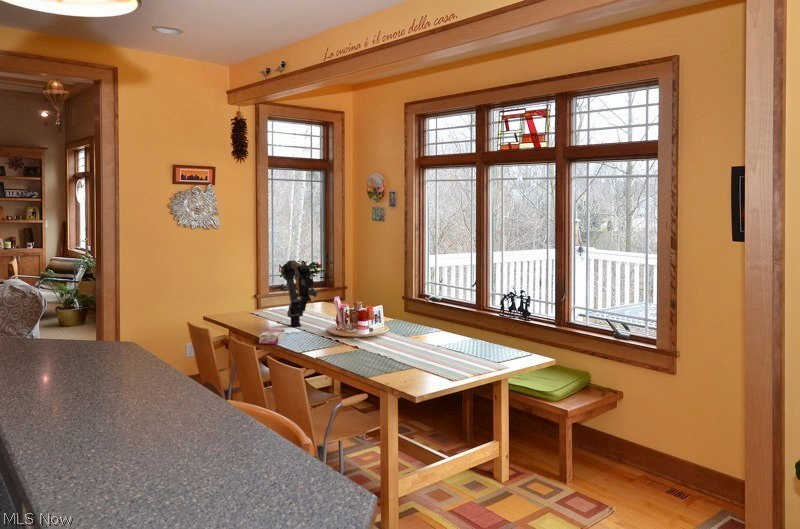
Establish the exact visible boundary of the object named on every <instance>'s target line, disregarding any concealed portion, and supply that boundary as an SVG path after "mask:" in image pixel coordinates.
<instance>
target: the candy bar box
mask: <svg viewBox="0 0 800 529" xmlns="http://www.w3.org/2000/svg"><path fill="white" fill-rule="evenodd" d="M285 338H286V329H273V328H272V329H269V328H266V329H265V330H264V331H263V332H261V333H260V334H259V335H258V344H259V345H261V344H264V345H265V344H266V345H269V344H275V345H277V344H280V343H281V341H283V340H284V339H285Z"/></svg>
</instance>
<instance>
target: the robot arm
mask: <svg viewBox="0 0 800 529" xmlns="http://www.w3.org/2000/svg"><path fill="white" fill-rule="evenodd" d="M280 274H281V276H282V278H283V279H284V280H285V281H286V282H285V283H286V287H287V291H288V296H289V301H290V302H289V304H288V305H289V306H288V311H287V313H286V314H287V318H288V317H289V318H290V324H289V327H291V328H294V327H295V328H296V327H302V324H301V318H300V317H303V316H304V312H305V311H306V307H307V304H308V302H311V301H312V297H313V298H317V295H318V291H316V290H315V289H314V288H312V287H313V286H314V284H315V283H314V282H315V281H314V279H313V278H311V277H312V271H311V269H310V267H309V265H307V264H301V263H298V262H297V261H296V260H288V261H286V263H284V264H283V265H282V266H281V269H280ZM296 275H297V276H296ZM295 276H296V277H297V283H298V284H297V285H298V286H297V287H296V285H295ZM296 288H297V289H298V292H297V289H296ZM311 296H312V297H311Z"/></svg>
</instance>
